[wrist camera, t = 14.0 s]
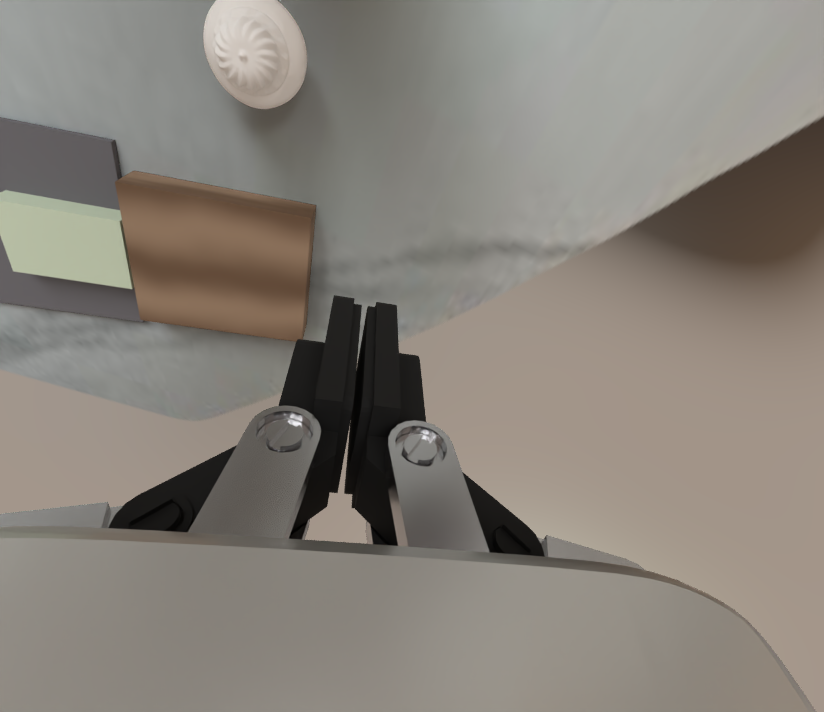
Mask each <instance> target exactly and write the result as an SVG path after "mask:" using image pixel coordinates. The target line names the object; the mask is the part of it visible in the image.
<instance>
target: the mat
mask: <svg viewBox="0 0 824 712" xmlns="http://www.w3.org/2000/svg"><path fill="white" fill-rule="evenodd" d="M120 178H121V172H120V166H119V161H118V155H117V149H116V144H115V140H111V139H106V138H101V137H96V136H91V135H86V134H81V133H76V132H71V131H66V130H61V129H56V128H51V127H46V126H41V125H36V124H31V123H26V122H21V121H16V120H11V119H6V118H1V117H0V192H3V191H5V190H8V191H13V192H19V193H25V194H30V195H36V196H42V197H47V198H53V199H59V200H64V201H70V202H76V203H81V204H87V205H93V206H98V207H104V208H110V209H115V210H120V207H119V202H118V196H117V191H116V185H115V181H117V180H119V179H120ZM0 302H1V303H8V304H16V305H23V306H30V307H37V308H44V309H52V310H59V311H66V312H73V313H81V314H88V315H95V316H102V317H109V318H117V319H124V320H131V321H138V322H144V321H145V320H140V315H139V309H138V304H137V299H136V293H135V288H133V289H127V288H121V287H114V286H107V285H101V284H94V283H88V282H81V281H74V280H68V279H61V278H54V277H48V276H41V275H34V274H28V273H21V272H14V271H13V269H12V267H11V264H10V261H9V258H8V255H7V253H6V250H5V247H4V244H3V242H2V239H1V236H0Z"/></svg>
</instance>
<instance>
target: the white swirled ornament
mask: <svg viewBox="0 0 824 712" xmlns="http://www.w3.org/2000/svg"><path fill="white" fill-rule="evenodd" d="M203 41H204V49H205V53H206V57H207V60H208V62H209V65H210V67H211V69H212V71H213V73H214V75H215V77H216V78H217V80H218V81H219V82H220V84H221V85H222V86H223V87H224V88H225V90H226V91H227V92H228V93H230V94H231V95H232V96H233V97H234V98H236V99H237V100H239V101H240V102H242V103H244V104H246V105H248V106H250V107H253V108H257V109H270V108H275V107H278V106H280V105H282V104H284V103H286V102H288V101H289V100H291V99H292V98H293V97H294V96H295V95H296V94H297V92H298V91H299V89H300V88H301V86H302V84H303V81H304V78H305V75H306V69H307V52H306V45H305V41H304V38H303V35H302V33H301V30H300V28H299V26H298V24H297V23H296V21H295V20H294V18H293V17H292V15H291V14H290V13H289V11H288V10H287V9H286V8H285V7H284V6H283V5H282V4H281V3H280V2H279V1H278V0H216V1H215V3H214V4H213V5H212V7H211V8H210V10H209V12H208V14H207V17H206V20H205V24H204V31H203Z"/></svg>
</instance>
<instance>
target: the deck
mask: <svg viewBox="0 0 824 712" xmlns="http://www.w3.org/2000/svg"><path fill="white" fill-rule="evenodd" d="M115 185H116V191H117V196H118V202H119V207H120V212H121V218H122V223H123V228H124V234H125V239H126V245H127V250H128V255H129V261H130V266H131V272H132V277H133V282H134V288H135V293H136V299H137V304H138V309H139V315H140V320H145V321H152V322H159V323H166V324H174V325H181V326H188V327H195V328H202V329H209V330H217V331H224V332H231V333H238V334H245V335H253V336H260V337H267V338H274V339H281V340H289V341H296V342H297V340H298V339H302V340H303V336H304V332H305V328H306V324H307V312H308V299H309V287H310V275H311V262H312V250H313V237H314V225H315V213H316V205H312V204H307V203H302V202H296V201H291V200H286V199H280V198H275V197H270V196H265V195H259V194H254V193H249V192H244V191H238V190H233V189H228V188H223V187H217V186H212V185H207V184H202V183H196V182H191V181H186V180H181V179H175V178H170V177H165V176H160V175H154V174H149V173H144V172H139V171H132V172H130V173H129V174H127V175H125V176H124V177H122V178H120V179H119V180H117V181H115Z"/></svg>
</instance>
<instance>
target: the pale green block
mask: <svg viewBox="0 0 824 712" xmlns="http://www.w3.org/2000/svg"><path fill="white" fill-rule="evenodd" d="M0 236H1V239H2V242H3V244H4V247H5V250H6V253H7V255H8V258H9V261H10V264H11V267H12V269H13V271H14V272H21V273H28V274H34V275H41V276H48V277H54V278H61V279H68V280H74V281H81V282H88V283H94V284H101V285H107V286H114V287H121V288H127V289H133V288H134V282H133V277H132V272H131V266H130V261H129V255H128V250H127V245H126V239H125V234H124V228H123V223H122V218H121V212H120V210H115V209H110V208H104V207H98V206H93V205H87V204H81V203H76V202H70V201H64V200H59V199H53V198H47V197H42V196H36V195H30V194H25V193H19V192H13V191H8V190H5V191H3V192H0Z"/></svg>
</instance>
